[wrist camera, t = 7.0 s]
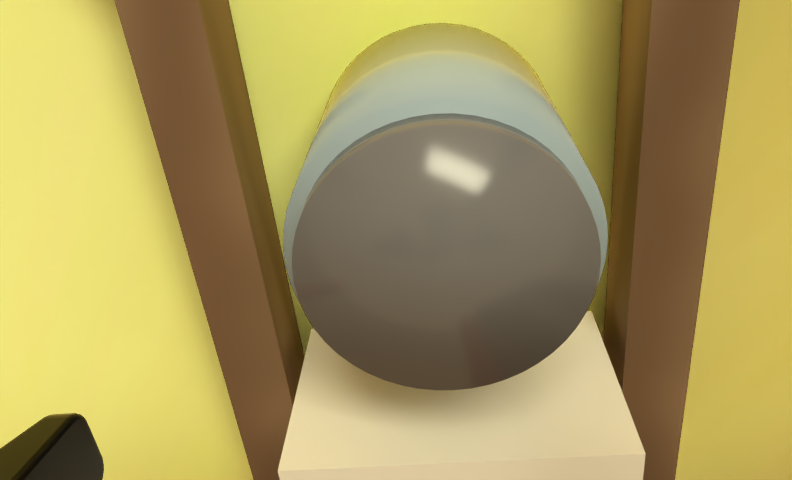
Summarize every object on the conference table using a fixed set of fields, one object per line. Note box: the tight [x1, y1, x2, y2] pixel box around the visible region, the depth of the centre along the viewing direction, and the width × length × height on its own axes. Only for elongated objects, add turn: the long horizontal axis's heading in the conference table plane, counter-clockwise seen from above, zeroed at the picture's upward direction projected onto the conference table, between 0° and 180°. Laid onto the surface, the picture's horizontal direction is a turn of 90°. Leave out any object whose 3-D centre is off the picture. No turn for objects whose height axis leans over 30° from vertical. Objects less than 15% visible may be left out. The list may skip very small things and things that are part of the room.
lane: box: [115, 0, 740, 480], centre depth 14 cm, size 15×20×5 cm
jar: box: [283, 23, 608, 390], centre depth 14 cm, size 6×6×6 cm
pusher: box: [278, 311, 646, 480], centre depth 18 cm, size 8×6×5 cm
